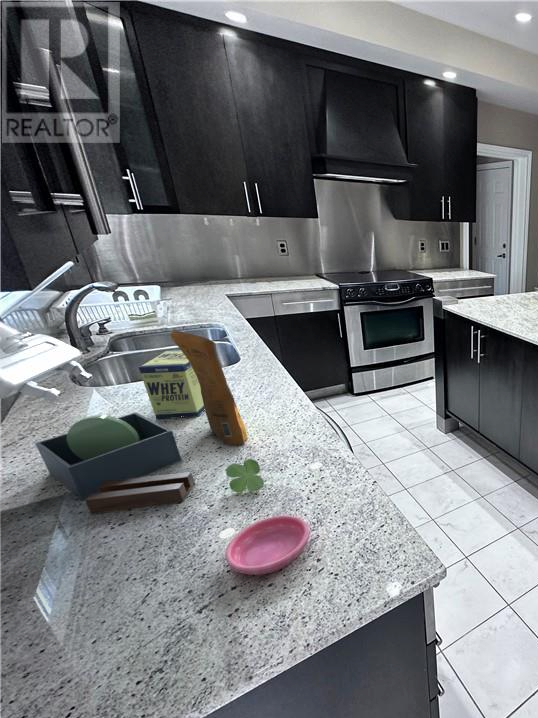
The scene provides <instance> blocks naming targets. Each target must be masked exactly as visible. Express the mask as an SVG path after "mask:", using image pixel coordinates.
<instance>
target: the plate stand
mask: <svg viewBox="0 0 538 718" xmlns="http://www.w3.org/2000/svg"><path fill="white" fill-rule="evenodd" d="M195 486H196V481H195V478H194V476H193V472H192V471H185V472H183V471H182V472H174V473H166V474H159V475H149V476H141V477H139V478H131V479H122V480H113V481H105V482H103V483H102V484H101V485H100V486H99V487H98V489H99V491H100V493H94V494H91V495H90V496H89V497H88V498H87V499H86V500H84V502H85V504H86V506H87V509H88V511H89V513H90V514H91V515H94V514H102V513H109V512H117V511H125V510H132V509H133V510H134V509H139V508H140V509H141V508H147V507H155V506H163V505H170V504H177V503H184V502H185V500H186V499H187V497H188V496H189V494H190V493H191V492H192V490H193V488H194V487H195Z"/></svg>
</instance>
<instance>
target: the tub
mask: <svg viewBox="0 0 538 718" xmlns="http://www.w3.org/2000/svg"><path fill="white" fill-rule="evenodd" d="M117 418H118V419H121V420H123V421H125V422H126V423H128V424H129V425H131V426H132V427H133V428H134V429H135V430H136V432H137V433H138V436H139V439H140V441H139V442H136V443H133V444H131V445H128V446H125V447H122V448H119V449H117V450H114V451H111V452H108V453H105V454H103V455H100V456H97V457H94V458H91V459H89V460H86V461H85V460H83V459H81V458H79V457H78V456H77V455H75V454H74V453H73V452H72V450H71V449H70V448H69V446H68V443H67V433H63V434H61V435H58V436H57V435H56V436H54V437H51V438H47V439H44V440H41V441H38V442H35V443H34V445H35V447H36V449H37V451H38V453H39V454H40V456H41V459H42V461H43V463H44V465H45V467H46V469H47V471H48V474H49V475H50V476H52V477H53V478H54V479H56V481H58V482H59V483H61V484H62V485H63V486H64V487H66V488H67V489H68V490H69V491H71V492H72V494H74V495H75V496H76V497H78V498H79V499H80V500H82V501H84V502H85V500H86V499H87V498H88V497H89V496H90V495H91V494H94V493H100V491H99V489H98V487H99V486H100V485H101V484H102V483H103V482H105V481H113V480H122V479H131V478H139V477H145V476H146V475H148V474H151V473H153V472H155V471H158V470H160V469H162V468H165V467H167V466H170V465H173V464H175V463H176V462H180V461H182V457H181V454H180V451H179V447H178V444H177V441H176V439H175V436H174V432H173V430H172V429H170V428H168V427H166V426H163V425H162V424H159V423H158V422H156V421H154V420H152V419H151V418H149V417H146V416H144V415H143V414H141V413H139V412H137V411H136V412H132V413H128V414H126V415H122V416H119V417H117Z"/></svg>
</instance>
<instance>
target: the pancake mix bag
mask: <svg viewBox="0 0 538 718" xmlns="http://www.w3.org/2000/svg"><path fill="white" fill-rule="evenodd" d="M169 334H170V335H169V336H170V338H171V340H172V342H173V343H174V344H175V345H176V346H177V347H178V349H181V351H182V352H183V354H184V355H185V356H186V358H187V359H188V361H189V362H190V364H191V366H192V368H193V370H194V372H195V374H196V376H197V378H198V381H199V384H200V388H201V395H202V399H203V404H204V408H205V410H204V412H205V416H206V419H207V422H208V425H209V428H210V430H211V432H212V434H214V436H217V438H219V439H220V440H221V441H223V442H224V444H226V445H227V446H241V445H242V446H243V445H246V441H247V440H248V434H247V430H246V429H247V428H246V426H245V423H244V421H243V419H242V415H241V413H240V410H239V409H238V406H237V403H236V400H235V398H234V395H233V393H232V390H231V389H230V386H229V385H228V382H227V377H226V376H225V373H224V370H223V367H222V364H221V360H220V358H219V355H218V350H217V345H216V344H217V342H215V341H213V340H211V339H209V338H207V337H204V336H201V335H197V334H192V333H187V332H183V331H181V330H180V331H179V330H177V329H172V331H171V332H170V333H169Z"/></svg>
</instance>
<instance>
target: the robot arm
mask: <svg viewBox="0 0 538 718" xmlns="http://www.w3.org/2000/svg"><path fill="white" fill-rule="evenodd" d="M82 356H83V353H82V352H81V351H80V349H78V348H77V347H75V346H72V345H71V344H69V343H67V342H64V341H62V340H60V339H58V338H56V337H54V336H50V335H48V334H42V333H33V332H24V333H23V332H21V331H20V330H18V329H15V328H14V327H12V326H10V325H9V324H7V323H5V321H4V319H3V318H2V317H1V316H0V399H7V398H9V397H11V396H13V395H15V394H17V393H22V394H24V395H25V396H31V397H36V398H42V399H44V400H46V401H49V402H51V403H52V402H55V401H57V400H58V399H60V398H61V397H62V395H63V392H62V391H60V390H57V389H56V388H54V387H52V388H46V387H42V386H40V385H38V383H39V382H41V381H44V380H46V379H48V378H50V377H52V376H54V375H56V374H59V373H60V372H62V371H64V372H65V373H68V374H70V373H71V374H73V376H75V377H76V378H75V380H76V381H77V382H80V383H81V384H87V383H89V382H90V381H91V380H92V379H93V378H94V376H93V374H91V373H89V372H87V371H86V370H85V369H84V368H83V367H82V365H81V364H80V363H79V360H81V358H82Z"/></svg>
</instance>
